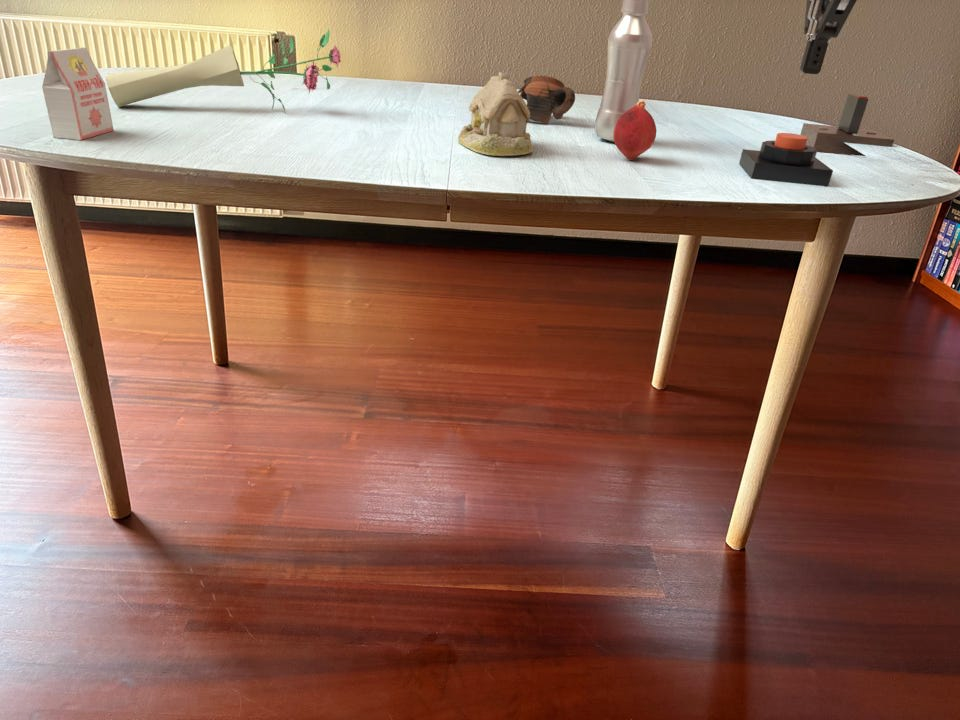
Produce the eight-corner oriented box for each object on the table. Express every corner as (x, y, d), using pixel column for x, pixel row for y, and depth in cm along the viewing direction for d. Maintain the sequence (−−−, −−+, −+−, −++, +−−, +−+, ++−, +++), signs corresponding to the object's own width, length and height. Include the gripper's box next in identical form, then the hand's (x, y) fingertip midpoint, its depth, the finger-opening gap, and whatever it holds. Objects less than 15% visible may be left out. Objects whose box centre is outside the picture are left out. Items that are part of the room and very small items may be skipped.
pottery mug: (501, 121, 120) (509, 75, 120) (531, 141, 128) (539, 98, 128) (558, 113, 113) (566, 64, 113) (587, 135, 120) (595, 89, 120)
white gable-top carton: (53, 137, 86) (33, 50, 81) (87, 127, 92) (71, 46, 87) (80, 140, 85) (62, 52, 80) (113, 130, 91) (98, 48, 86)
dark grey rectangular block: (837, 127, 117) (848, 92, 114) (847, 128, 117) (858, 93, 114) (847, 133, 113) (859, 96, 110) (857, 133, 113) (869, 97, 110)
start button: (800, 147, 95) (803, 134, 94) (807, 153, 92) (811, 139, 91) (770, 144, 95) (774, 131, 95) (777, 150, 92) (780, 137, 91)
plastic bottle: (599, 134, 113) (619, -2, 103) (639, 141, 110) (664, 1, 100) (587, 140, 107) (607, -3, 98) (629, 147, 105) (653, 1, 95)
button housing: (809, 171, 99) (818, 143, 97) (828, 187, 91) (837, 156, 89) (738, 164, 100) (745, 136, 98) (751, 179, 92) (759, 148, 90)
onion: (628, 166, 94) (639, 104, 90) (601, 156, 98) (610, 97, 94) (659, 163, 97) (670, 103, 93) (631, 154, 101) (641, 96, 97)
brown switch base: (868, 147, 120) (874, 128, 118) (888, 158, 112) (895, 138, 110) (798, 140, 121) (803, 122, 119) (812, 151, 113) (818, 131, 111)
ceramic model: (450, 135, 104) (453, 64, 99) (520, 137, 106) (527, 67, 102) (472, 157, 92) (477, 77, 87) (551, 158, 95) (560, 81, 90)
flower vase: (142, 151, 112) (350, 106, 118) (122, 144, 101) (353, 94, 107) (116, 76, 109) (330, 34, 115) (92, 60, 98) (332, 14, 104)
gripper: (909, -88, 74) (855, 81, 83) (867, -78, 86) (824, 70, 94) (838, -93, 75) (792, 75, 84) (806, -82, 87) (768, 65, 95)
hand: (809, 72), depth 89 cm, fingers closed
